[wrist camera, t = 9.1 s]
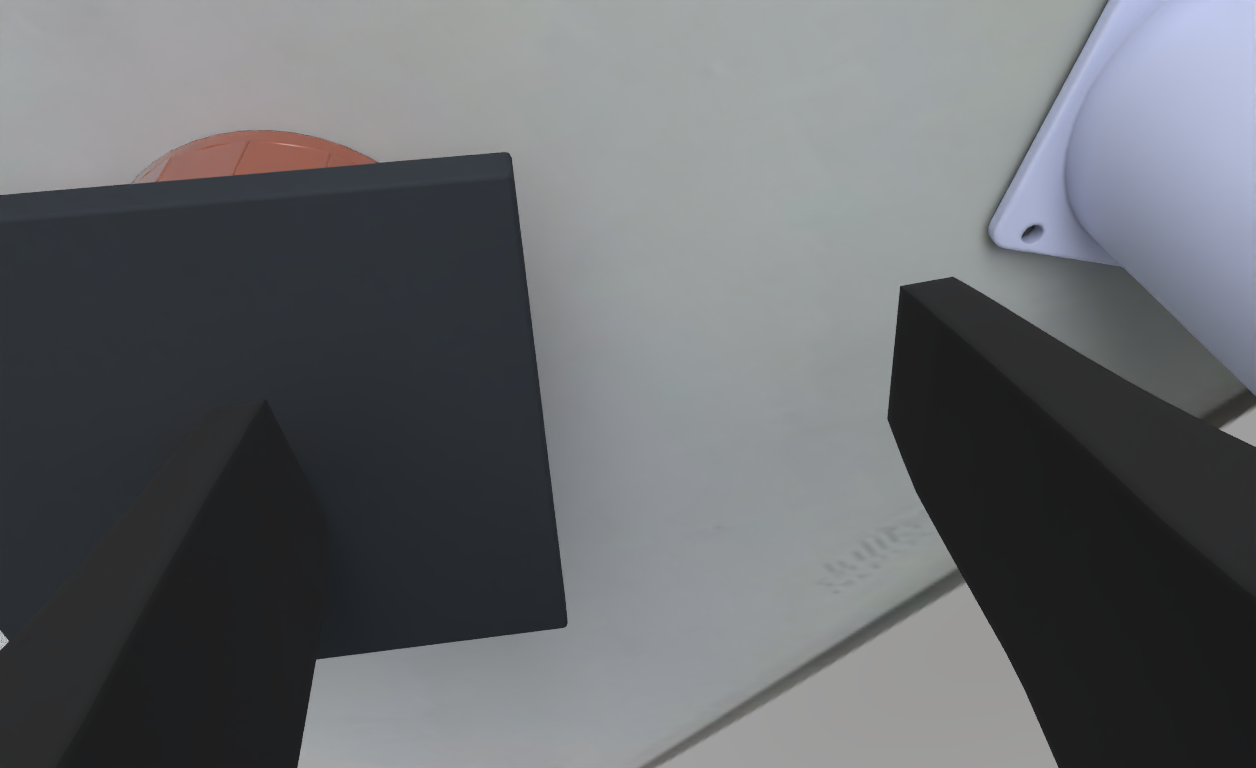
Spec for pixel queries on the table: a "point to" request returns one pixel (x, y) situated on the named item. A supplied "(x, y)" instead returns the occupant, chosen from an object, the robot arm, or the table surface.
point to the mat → (290, 380)
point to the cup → (249, 156)
